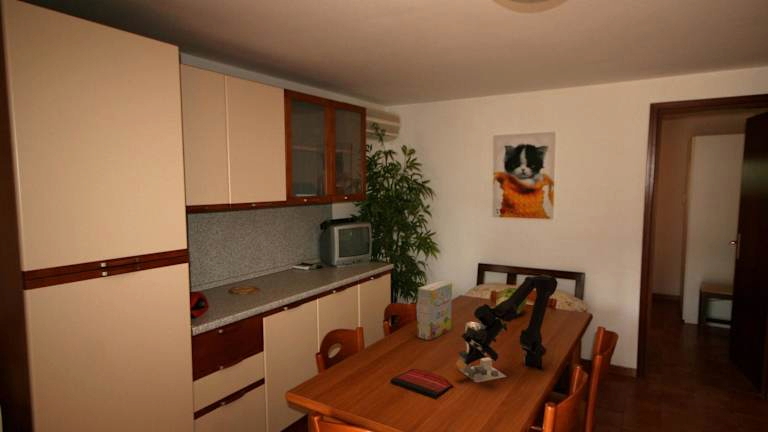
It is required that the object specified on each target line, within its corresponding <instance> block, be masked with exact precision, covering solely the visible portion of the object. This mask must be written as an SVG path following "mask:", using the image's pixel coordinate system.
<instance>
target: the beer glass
mask: <svg viewBox="0 0 768 432" xmlns="http://www.w3.org/2000/svg"><path fill="white" fill-rule="evenodd" d="M468 327H470V328H473V329H475V330H478V329H481V326H480V324H479V323H478V322H476V321H468V322H465V326H464V328H465V329H464V333H466V331H467V328H468ZM465 345H466V352H467V353H468V352H469V345H468V343H467V342H466V341H465Z"/></svg>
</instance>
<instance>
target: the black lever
mask: <svg viewBox="0 0 768 432" xmlns="http://www.w3.org/2000/svg"><path fill="white" fill-rule="evenodd" d="M458 354H459V360H461V361H462V362H464V363H465V361H466V358H467V355H468V353H467V350H460V351H459V353H458ZM465 364H466V363H465ZM466 365H467V364H466ZM468 365H469V364H468ZM468 365H467V366H468Z"/></svg>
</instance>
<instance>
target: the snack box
mask: <svg viewBox="0 0 768 432" xmlns="http://www.w3.org/2000/svg"><path fill="white" fill-rule="evenodd" d="M452 290H453V283H452V282H449V281H443V280H442V281H441V280H438V281H436V282H432V283H429V284H427V285H423V286H420V287H417V320H416V321H417V322H416V323H417V326H416V329H417V330H416V337H417V338H419V339H422V340H426V341H431V340H433V339H435V338H437V337H440V336H441V335H443V334H445V333H447V332H448V331H450V330H451V329H452V297H453V296H452V294H453V293H452V292H453V291H452Z"/></svg>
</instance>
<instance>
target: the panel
mask: <svg viewBox="0 0 768 432" xmlns="http://www.w3.org/2000/svg"><path fill="white" fill-rule="evenodd" d="M468 367H470V368H471V369H472V370H474V371H475V372H476V373H477V374H474V377H473V376H472V375H470V374H469V373H468V372H466V371H465V370H463V369H461V368H460V367H458V366H457V369H458V370H459V371H460V372H461V373H463V375H466V376H467V377H469V379H470V380H472V381H473V382H475V383H480V382H486V381H487V382H488V381H491V380H492V381H493V380H496V379H501V378H506V377H507V375H505V374H503V373H502V372H500V371H499V370H497V369H496V368H494V367H493V366H492V369H489V370H486V369H484V368H483V367H481V366H480V364H479V365H474V366H471V364H468Z"/></svg>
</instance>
